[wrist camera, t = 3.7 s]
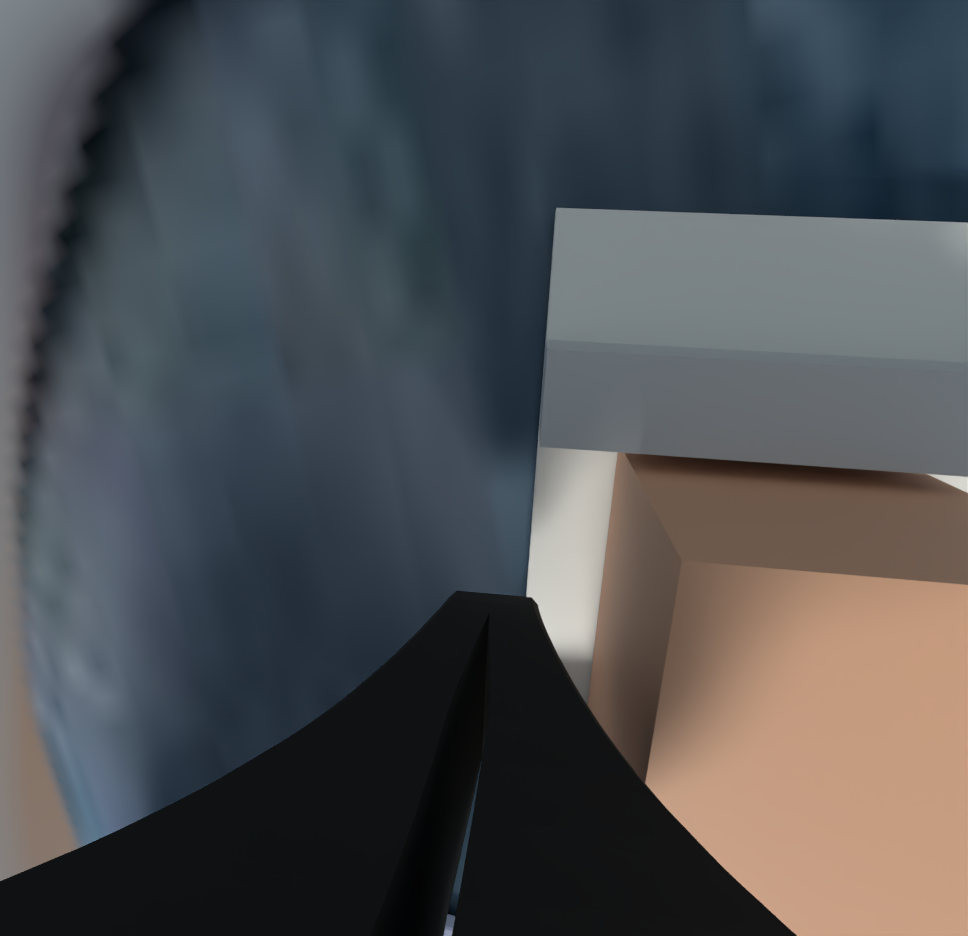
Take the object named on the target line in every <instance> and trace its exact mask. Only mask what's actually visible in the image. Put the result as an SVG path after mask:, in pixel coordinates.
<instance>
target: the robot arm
mask: <svg viewBox="0 0 968 936" xmlns="http://www.w3.org/2000/svg"><path fill="white" fill-rule="evenodd" d="M481 760H482V762H481ZM480 764H481V770H480V776H479V782H478V789H477V795H476V801H475V807H474V813H473V819H472V825H471V831H470V837H469V842H468V848H467V854H466V860H465V865H464V871H463V877H462V883H461V888H460V894H459V900H458V905H457V910H456V916H453V915H450V914H448V909H449V905H450V900H451V896H452V891H453V887H454V882H455V878H456V873H457V869H458V864H459V859H460V855H461V850H462V846H463V841H464V837H465V832H466V828H467V823H468V819H469V814H470V810H471V805H472V801H473V796H474V792H475V787H476V783H477V778H478V773H479V769H480ZM0 936H797V935H796V934H795V933H794V932H792V931H791V930H790V929H789V928H788V927H787V926H786V925H785V924H784V923H783V922H781V921H780V920H779V919H778V918H777V917H776V916H775V915H774V914H773V913H772V912H771V911H769V910H768V909H767V908H766V907H765V906H764V905H763V904H762V903H761V902H760V901H759V900H758V899H756V898H755V897H754V896H753V895H752V894H751V893H750V892H749V891H748V890H747V889H746V888H745V887H743V886H742V885H741V884H740V883H739V882H738V881H737V880H736V879H735V878H734V877H733V876H732V875H731V874H730V873H729V872H728V871H726V870H725V869H724V868H723V867H722V866H721V865H720V864H719V863H718V862H717V860H716V859H715V858H714V857H713V856H712V855H711V854H710V853H709V852H708V851H707V850H706V849H705V848H704V847H703V846H702V845H701V844H700V843H699V842H698V841H697V840H696V839H695V838H694V837H693V835H692V834H691V833H690V832H689V831H688V830H687V829H686V828H685V827H684V826H683V825H682V824H681V823H680V822H679V821H678V820H677V819H676V818H675V817H674V816H673V815H672V814H671V813H670V812H669V811H668V809H667V808H666V807H665V806H664V805H663V804H662V803H661V801H660V800H659V799H658V798H657V797H656V796H655V794H654V793H653V792H652V791H651V790H650V788H649V787H648V786H647V785H646V784H645V783H644V781H643V780H642V779H641V778H640V777H639V775H638V774H637V773H636V772H635V770H634V769H633V768H632V767H631V765H630V764H629V763H628V761H627V760H626V759H625V758H624V756H623V755H622V754H621V753H620V751H619V750H618V749H617V747H616V746H615V745H614V743H613V742H612V741H611V739H610V738H609V736H608V735H607V734H606V732H605V731H604V729H603V728H602V726H601V725H600V724H599V722H598V721H597V719H596V718H595V716H594V715H593V713H592V712H591V710H590V708H589V707H588V705H587V704H586V702H585V701H584V699H583V698H582V696H581V694H580V693H579V691H578V689H577V688H576V686H575V684H574V683H573V681H572V679H571V677H570V676H569V674H568V672H567V670H566V668H565V667H564V665H563V663H562V661H561V659H560V658H559V656H558V654H557V652H556V650H555V648H554V646H553V644H552V641H551V639H550V637H549V635H548V633H547V630H546V628H545V626H544V623H543V621H542V618H541V615H540V612H539V608H538V604H537V603H536V602H535V601H534V600H533V598H532V597H521V596H510V595H499V594H487V593H476V592H464V591H456V592H455V593H454V594H453V595H451V596H450V597H449V598H448V599H447V601H446V602H445V603H444V604H443V605H442V606H441V607H440V609H439V610H438V611H437V612H436V613H435V614H434V615H433V616H432V617H431V618H430V620H429V621H428V622H427V623H426V624H425V625H424V626H423V627H422V628H421V629H420V630H419V631H418V632H417V633H416V634H415V635H414V636H413V637H412V638H411V639H410V640H409V641H408V642H407V643H406V644H405V645H404V646H403V647H402V648H401V649H400V650H399V651H398V652H397V653H396V654H395V655H394V656H392V657H391V658H390V659H389V660H388V661H387V662H386V663H385V664H384V665H382V666H381V667H380V668H379V669H378V670H377V671H375V672H374V673H373V674H372V675H371V676H370V677H368V678H367V679H366V680H365V681H364V682H363V683H362V684H360V685H359V686H358V687H357V688H356V689H355V690H353V691H352V692H351V693H350V694H348V695H347V696H346V697H345V698H343V699H342V700H341V701H339V702H338V703H337V704H336V705H334V706H333V707H332V708H330V709H329V710H328V711H326V712H325V713H324V714H322V715H321V716H320V717H318V718H317V719H315V720H314V721H312V722H311V723H309V724H308V725H307V726H305V727H304V728H302V729H301V730H299V731H298V732H296V733H295V734H293V735H292V736H290V737H289V738H287V739H286V740H284V741H282V742H281V743H279V744H277V745H276V746H274V747H272V748H270V749H269V750H267V751H265V752H264V753H262V754H260V755H259V756H257V757H255V758H254V759H252V760H250V761H249V762H247V763H245V764H244V765H242V766H240V767H239V768H237V769H235V770H233V771H232V772H230V773H228V774H227V775H225V776H223V777H222V778H220V779H218V780H216V781H215V782H213V783H211V784H209V785H207V786H205V787H203V788H202V789H200V790H198V791H196V792H194V793H192V794H190V795H188V796H186V797H184V798H182V799H181V800H179V801H177V802H175V803H173V804H171V805H169V806H167V807H165V808H163V809H161V810H159V811H157V812H155V813H153V814H151V815H149V816H147V817H144V818H142V819H140V820H138V821H136V822H134V823H132V824H130V825H128V826H126V827H124V828H122V829H120V830H118V831H116V832H113V833H111V834H109V835H107V836H105V837H103V838H100V839H98V840H96V841H94V842H92V843H89V844H87V845H85V846H83V847H81V848H78V849H76V850H74V851H71V852H69V853H66V854H64V855H62V856H59V857H57V858H55V859H52V860H50V861H48V862H45V863H43V864H41V865H38V866H36V867H33V868H31V869H29V870H26V871H24V872H21V873H19V874H17V875H14V876H12V877H10V878H7V879H5V880H2V881H0Z"/></svg>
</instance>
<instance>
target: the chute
mask: <svg viewBox="0 0 968 936" xmlns="http://www.w3.org/2000/svg"><path fill="white" fill-rule="evenodd" d="M618 452H620V453H634V454H648V455H663V456H677V457H691V458H706V459H720V460H734V461H748V462H763V463H777V464H791V465H806V466H820V467H834V468H849V469H863V470H877V471H891V472H906V473H920V474H928V475H930V476H932V477H934V478H937V479H939V480H941V481H943V482H945V483H947V484H950V485H952V486H954V487H956V488H958V489H960V490H963V491H965V492H967V493H968V223H965V222H937V221H909V220H882V219H854V218H826V217H798V216H771V215H743V214H715V213H688V212H660V211H632V210H604V209H577V208H556V213H555V224H554V237H553V250H552V263H551V276H550V289H549V302H548V315H547V328H546V341H545V354H544V367H543V380H542V393H541V406H540V419H539V432H538V445H537V458H536V471H535V484H534V497H533V510H532V523H531V536H530V549H529V562H528V575H527V588H526V597H532V598H533V600H534V601H535V602H536V603H537V604H538V608H539V612H540V615H541V618H542V621H543V623H544V626H545V628H546V630H547V633H548V635H549V637H550V639H551V641H552V644H553V646H554V648H555V650H556V652H557V654H558V656H559V658H560V659H561V661H562V663H563V665H564V667H565V668H566V670H567V672H568V674H569V676H570V677H571V679H572V681H573V683H574V684H575V686H576V688H577V689H578V691H579V693H580V694H581V696H582V698H583V699H584V701H585V702H586V704H588V696H589V687H590V679H591V671H592V662H593V654H594V646H595V637H596V629H597V621H598V613H599V604H600V596H601V588H602V579H603V571H604V563H605V554H606V546H607V538H608V529H609V521H610V513H611V505H612V496H613V488H614V480H615V471H616V463H617V455H618Z"/></svg>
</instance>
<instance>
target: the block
mask: <svg viewBox="0 0 968 936" xmlns="http://www.w3.org/2000/svg"><path fill="white" fill-rule="evenodd" d="M587 705H588V707H589V708H590V710H591V712H592V713H593V715H594V716H595V718H596V719H597V721H598V722H599V724H600V725H601V726H602V728H603V729H604V731H605V732H606V734H607V735H608V736H609V738H610V739H611V741H612V742H613V743H614V745H615V746H616V747H617V749H618V750H619V751H620V753H621V754H622V755H623V756H624V758H625V759H626V760H627V761H628V763H629V764H630V765H631V767H632V768H633V769H634V770H635V772H636V773H637V774H638V775H639V777H640V778H641V779H642V780H643V781H644V783H645V784H646V785H647V786H648V787H649V788H650V790H651V791H652V792H653V793H654V794H655V796H656V797H657V798H658V799H659V800H660V801H661V803H662V804H663V805H664V806H665V807H666V808H667V809H668V811H669V812H670V813H671V814H672V815H673V816H674V817H675V818H676V819H677V820H678V821H679V822H680V823H681V824H682V825H683V826H684V827H685V828H686V829H687V830H688V831H689V832H690V833H691V834H692V835H693V837H694V838H695V839H696V840H697V841H698V842H699V843H700V844H701V845H702V846H703V847H704V848H705V849H706V850H707V851H708V852H709V853H710V854H711V855H712V856H713V857H714V858H715V859H716V860H717V862H718V863H719V864H720V865H721V866H722V867H723V868H724V869H725V870H726V871H728V872H729V873H730V874H731V875H732V876H733V877H734V878H735V879H736V880H737V881H738V882H739V883H740V884H741V885H742V886H743V887H745V888H746V889H747V890H748V891H749V892H750V893H751V894H752V895H753V896H754V897H755V898H756V899H758V900H759V901H760V902H761V903H762V904H763V905H764V906H765V907H766V908H767V909H768V910H769V911H771V912H772V913H773V914H774V915H775V916H776V917H777V918H778V919H779V920H780V921H781V922H783V923H784V924H785V925H786V926H787V927H788V928H789V929H790V930H791V931H792V932H794V933H795V934H796V935H797V936H968V493H967V492H965V491H963V490H960V489H958V488H956V487H954V486H952V485H950V484H947V483H945V482H943V481H941V480H939V479H937V478H934V477H932V476H930V475H928V474H920V473H906V472H891V471H877V470H863V469H849V468H834V467H820V466H806V465H791V464H777V463H763V462H748V461H734V460H720V459H706V458H691V457H677V456H663V455H648V454H634V453H620V452H618V455H617V463H616V471H615V480H614V488H613V496H612V505H611V513H610V521H609V529H608V538H607V546H606V554H605V563H604V571H603V579H602V588H601V596H600V604H599V613H598V621H597V629H596V637H595V646H594V654H593V662H592V671H591V679H590V687H589V696H588V704H587Z"/></svg>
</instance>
